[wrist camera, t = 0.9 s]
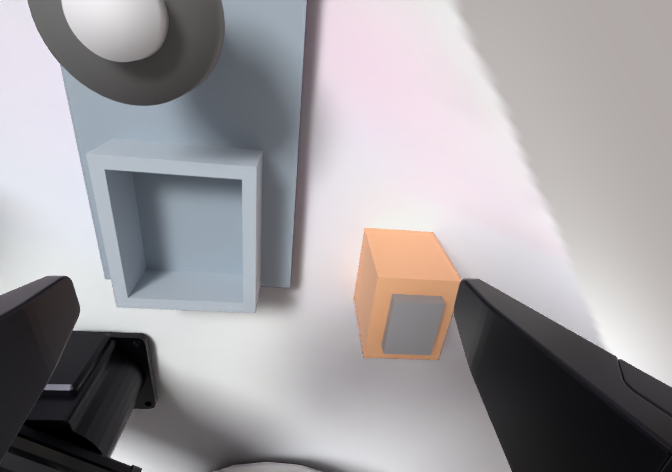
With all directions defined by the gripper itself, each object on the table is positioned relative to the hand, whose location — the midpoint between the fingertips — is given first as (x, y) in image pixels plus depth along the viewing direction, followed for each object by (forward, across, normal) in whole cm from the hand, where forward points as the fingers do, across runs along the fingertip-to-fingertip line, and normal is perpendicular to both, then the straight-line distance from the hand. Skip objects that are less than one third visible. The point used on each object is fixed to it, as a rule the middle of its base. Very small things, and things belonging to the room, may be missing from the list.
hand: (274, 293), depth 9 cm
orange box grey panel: (+12, -6, +7) cm, 15 cm away
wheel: (+7, +4, -6) cm, 10 cm away
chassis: (+12, +5, -1) cm, 13 cm away
